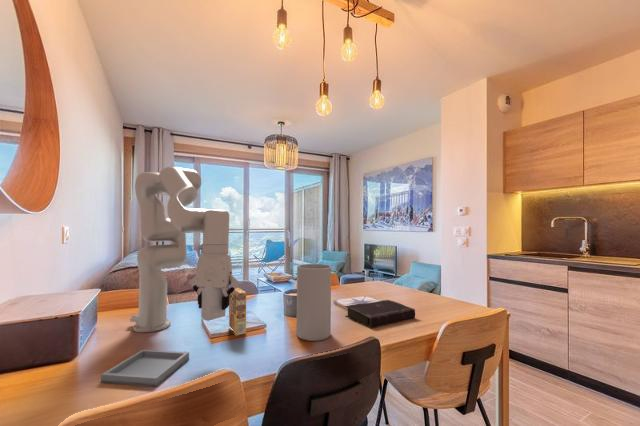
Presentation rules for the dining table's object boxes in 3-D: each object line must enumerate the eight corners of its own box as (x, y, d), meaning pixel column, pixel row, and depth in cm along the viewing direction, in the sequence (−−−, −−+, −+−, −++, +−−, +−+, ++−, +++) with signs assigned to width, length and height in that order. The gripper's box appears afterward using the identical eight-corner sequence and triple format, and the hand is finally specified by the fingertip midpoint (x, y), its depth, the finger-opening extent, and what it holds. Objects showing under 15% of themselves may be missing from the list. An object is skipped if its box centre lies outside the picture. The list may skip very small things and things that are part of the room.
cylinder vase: (334, 331, 112) (335, 264, 113) (324, 344, 100) (324, 269, 101) (304, 327, 116) (304, 263, 117) (290, 338, 104) (291, 267, 105)
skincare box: (218, 313, 95) (219, 275, 95) (226, 316, 92) (227, 277, 92) (199, 318, 90) (201, 278, 90) (207, 321, 87) (209, 280, 87)
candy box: (246, 333, 108) (247, 291, 109) (235, 336, 106) (235, 293, 107) (238, 326, 116) (239, 287, 116) (227, 328, 113) (228, 288, 114)
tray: (100, 382, 75) (100, 374, 75) (142, 356, 90) (142, 349, 90) (156, 386, 73) (156, 378, 73) (189, 358, 88) (189, 352, 88)
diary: (415, 320, 128) (415, 308, 128) (371, 330, 115) (371, 317, 115) (385, 308, 144) (385, 298, 144) (343, 316, 131) (343, 305, 131)
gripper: (182, 249, 88) (179, 309, 88) (238, 252, 87) (235, 313, 86) (195, 247, 96) (193, 302, 95) (247, 249, 94) (245, 306, 94)
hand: (213, 307), depth 91 cm, fingers closed on skincare box, 6 cm apart
